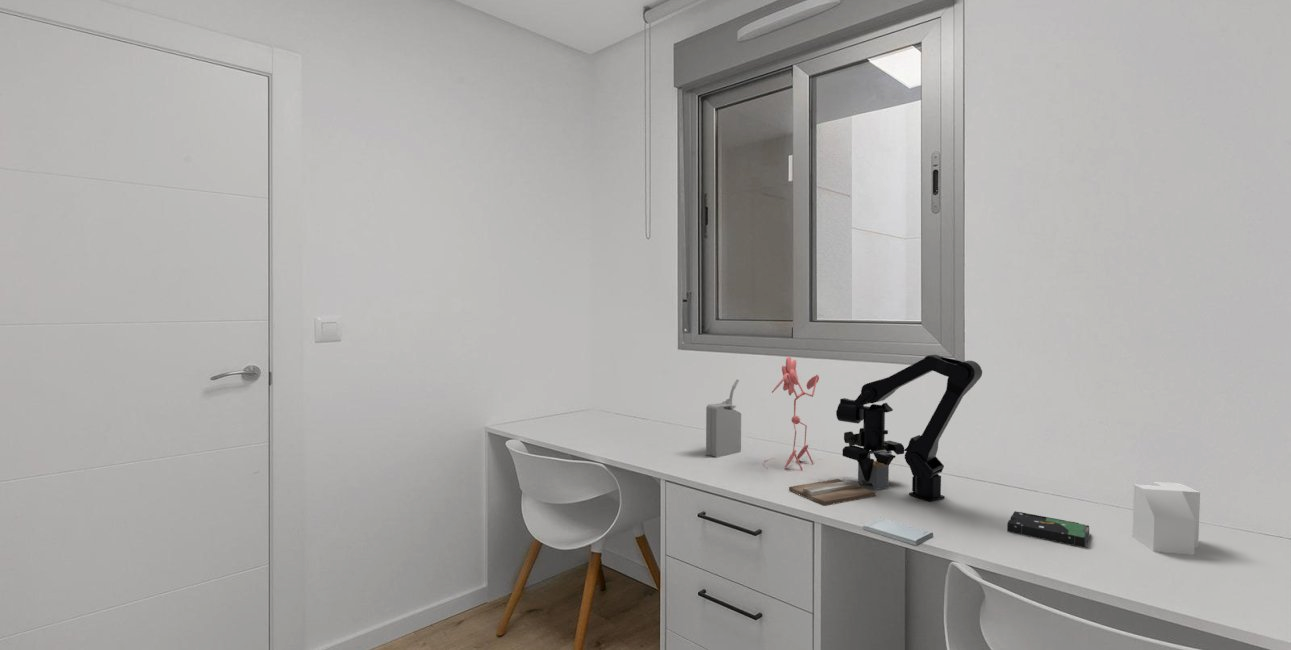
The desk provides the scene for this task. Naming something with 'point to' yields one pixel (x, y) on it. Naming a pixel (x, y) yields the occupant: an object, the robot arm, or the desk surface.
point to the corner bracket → (1166, 517)
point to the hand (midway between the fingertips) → (873, 479)
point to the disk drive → (1049, 528)
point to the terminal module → (876, 475)
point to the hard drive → (898, 531)
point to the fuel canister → (723, 428)
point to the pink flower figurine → (789, 381)
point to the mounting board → (832, 491)
